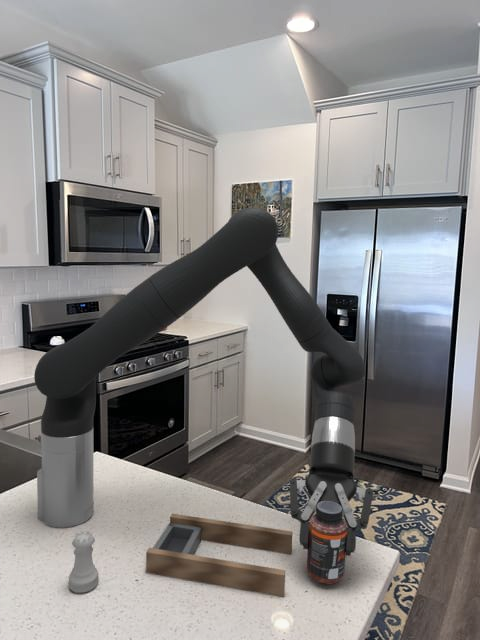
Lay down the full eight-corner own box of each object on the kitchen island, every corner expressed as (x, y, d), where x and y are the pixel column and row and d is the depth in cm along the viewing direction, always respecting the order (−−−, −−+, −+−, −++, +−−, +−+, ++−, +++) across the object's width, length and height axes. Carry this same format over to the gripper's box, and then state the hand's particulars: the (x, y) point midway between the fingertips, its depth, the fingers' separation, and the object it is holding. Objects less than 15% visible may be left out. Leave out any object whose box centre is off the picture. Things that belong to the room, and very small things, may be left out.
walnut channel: (145, 572, 76) (146, 552, 75) (172, 531, 87) (172, 513, 87) (283, 596, 71) (284, 575, 71) (291, 550, 83) (292, 531, 83)
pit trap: (149, 567, 77) (149, 552, 77) (169, 535, 86) (169, 522, 86) (184, 573, 76) (185, 558, 76) (201, 540, 85) (201, 527, 85)
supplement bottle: (344, 589, 73) (349, 519, 71) (305, 582, 74) (309, 513, 72) (343, 564, 78) (348, 499, 77) (307, 559, 80) (311, 495, 78)
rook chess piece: (81, 598, 70) (81, 547, 69) (61, 587, 72) (61, 537, 71) (105, 582, 73) (105, 533, 72) (85, 571, 76) (85, 523, 75)
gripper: (291, 435, 82) (279, 538, 72) (377, 444, 79) (377, 553, 69) (292, 452, 88) (281, 550, 78) (373, 462, 85) (372, 564, 75)
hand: (326, 551), depth 74 cm, fingers closed on supplement bottle, 6 cm apart
